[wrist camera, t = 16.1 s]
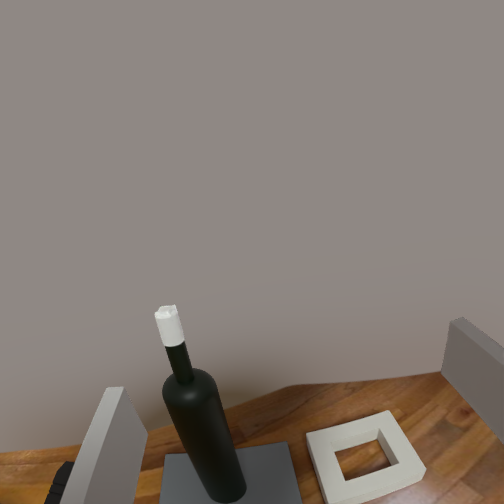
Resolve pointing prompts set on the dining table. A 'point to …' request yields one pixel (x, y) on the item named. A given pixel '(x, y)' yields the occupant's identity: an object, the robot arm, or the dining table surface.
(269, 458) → the coaster mat
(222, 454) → the wine bottle
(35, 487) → the dining table surface
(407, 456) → the frame
